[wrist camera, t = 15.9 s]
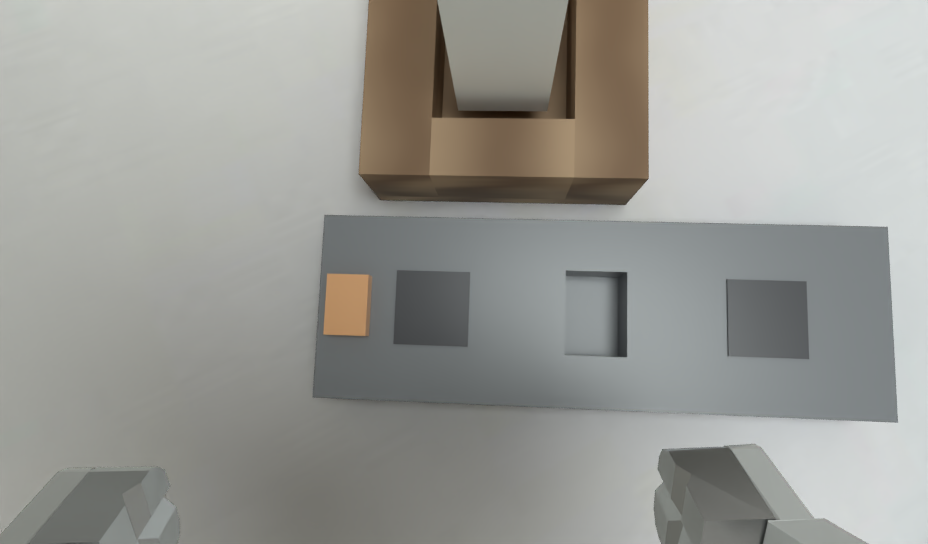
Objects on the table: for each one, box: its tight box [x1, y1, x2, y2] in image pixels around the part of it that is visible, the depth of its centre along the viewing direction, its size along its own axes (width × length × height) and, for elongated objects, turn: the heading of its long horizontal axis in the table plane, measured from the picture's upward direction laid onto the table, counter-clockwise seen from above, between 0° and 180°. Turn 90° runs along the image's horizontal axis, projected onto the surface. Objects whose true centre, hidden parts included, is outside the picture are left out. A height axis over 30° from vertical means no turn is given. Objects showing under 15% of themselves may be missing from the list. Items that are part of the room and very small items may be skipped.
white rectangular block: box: [437, 0, 568, 111], centre depth 23 cm, size 4×5×11 cm
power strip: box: [313, 215, 898, 423], centre depth 26 cm, size 24×8×4 cm, turn 88°
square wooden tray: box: [359, 0, 649, 205], centre depth 27 cm, size 12×12×4 cm
